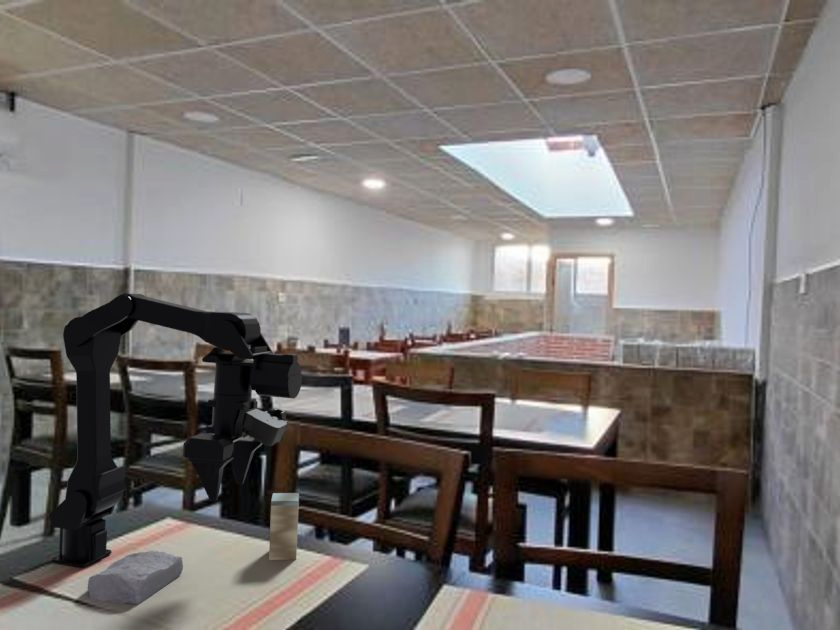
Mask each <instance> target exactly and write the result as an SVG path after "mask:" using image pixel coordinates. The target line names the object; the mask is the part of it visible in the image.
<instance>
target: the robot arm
mask: <svg viewBox="0 0 840 630" xmlns="http://www.w3.org/2000/svg"><path fill="white" fill-rule="evenodd" d="M139 321H140V322H144V323H148V324H152V325H155V326H156V325H157V326H158V327H159V326H160V327H164V328H167V329H168V328H169V329H172V330H176V331H179V332H184V333H188V334H191V335H194V336H195V337H198V338H199V339H201V340H202V341H203V342H205V343H208V344H210V345H211V346H214V347H213V348H212V349H211V350H210V352H209V353H207V354H206V355H204V356H203V357H202V358H201V361H202V362H203V363H209V364H211V363H212V364H215V367H214V369H215V370H214V383H213V384H214V386H213V398H210V399H208V400H207V407H209V408H210V407H212V415H211V416H212V417H211V424H210V425H207V426H206V431H205V433H203V432H201V433H198V434H196V435H194V436H191V437H189V438H188V439H187V440H186V441H184V442H183V444H182V445H183V446H182V457H183V458H187V461H188V462H191V464H192V466H193V468H194V470H195V472H196V474H197V476H198V478H199V480H200V482H201V485H202V486H203V489H204V491H205V493H206V495H207V498H208V499H209V500H210V501H211V502H212V501H213V502H216V501H218V499H219V496H220V495H219V494H220V490H221V484H222V479H223V474H224V469H225V467H226V466H227V465H228V464H229V463H230V462H231V468H232V473H233V476H234V480H235V483H236V484H237V485H243V484H244V482H245V480H246V478H247V473H248V471H249V468H250V465H251V462H252V459H253V457H254V454H255V452H256V450H258V448H260V447H261V446H262V445H264V446H268V447H272V446H274V445H275V444H276V443H280V442H281V439H282V437H283V435H284V432H285V431H287V430H288V429H289V428H288V427H289V426H288V422H289V421H288V420H287V414H286V413H287V412H286V410H283V409H282V408H279V407H278V408H275V409H273V410H272V411H271V412H269V411H268V410H266V411H262V410H261V409H258V403H259V402H258V401H257V399H256V398H253V397H252V396H253V395H252V394H253V391H255V393H256V395H258V396H264V397H271V398H272V397H274V398H282V399H283V398H284V399H296V398H297V397H298V395H299V393H300V390H301V388H302V383H303V374H302V368H301V365H300V363H299V361H298V359H299V358H298V353H274V351H273V350H272V348H271V347H270V346H269V344H268V342H267V341H266V339H265V337H264V335H263V334H262V333H261V330H262V329H261V326H260V323H259V321H258V319H257V317H256V316H255V315H253V314H251V313H248V312H234V311H211V310H209V311H208V310H203V309H198V308H195V307H190V306H186V305H181V304H178V303H175V302H170V301H165V300H161V299H157V298H152V297H149V296H146V295H144V294H142V293H125V292H124V293H121V294H119V295H117V296H116V297H115V298H113V299H111V300H110V301H108V302H107V303H104V304H102V305H100V306H99V307H96V308H94V309H92V310H90V311H88V312H86V313H85V314H83V315H82V316H76V317H74V318H72V319H71V320H69V322H68V323H67V324H66V325H64V328H63V332H62V336H63V337H62V338H63V343H64V349H65V356H66V357H67V359H68V360H69V362H70V364H71V365H72V367H73V369H74V371H75V374H76V375H75V376H76V377H75V378H76V380H75V381H76V384H75V385H76V448H77V449H76V450H77V452H76V453H77V456H76V457H77V458H76V459H77V460H76V463H75V464H74V467H73V468H72V471H71V473H70V475H69V477H68V479H67V484H66V490H65V496H64V497H65V499H64V500H63V501H62V502H60V503H59V504H58V505H57V506H56V507H55V508H53V509H54V510H52V511H51V512H50V513H49V515H48V516H49V521H50V524H51V527H52V528H56V529H59V543H58V544H59V546H58V547H59V548H58V555H55V556H53V557H51V559H50V561H51V563H58V564H62V565H67V566H74V567H77V568H78V567H80V568H84V567H87V566H89V565H91V564H93V563H95V562H97V561H99V560H101V559H103V558H106V556H109V555H111V554H112V550H111V549H108V548H107V546H108V545H107V544H108V543H107V541H108V540H107V539H108V531H107V529H106V522H107V519H104V518H105V517H107V516H110V515H112V514H113V512H114V511H115V507H116V505H117V504H118V503H119V502H120V501H121V500H122V498H123V494H124V491H126V490H127V486H126V482H125V478H126V466H125V465H119V466H118V465H117V464H116V462H115V460H114V459H113V458H112V440H111V436H112V435H111V433H112V431H111V429H112V428H111V422H112V421H111V369H112V367H113V365H114V363H115V361H116V359H117V356H118V355H119V353H120V346H121V340H122V339H121V338H123V337H124V336H125V335H126V334H128V333H129V332H130V331H132V330H133V328H135V326H136V324H137V323H138V322H139ZM226 351H229V352H226Z"/></svg>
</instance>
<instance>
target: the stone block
mask: <svg viewBox="0 0 840 630" xmlns="http://www.w3.org/2000/svg"><path fill="white" fill-rule="evenodd" d="M183 569H184V563H183V557H182V556H181V555H178V556H177V555H174V554H171V553H167V552H165V551H158V550H148V551H140V552H134V553H131V554H127V555H125V556H124V557H122V558H121V559H118V560H116V561H114V562H113V563H112V564H110V565H109V566H108V567H107V568H106V569H105V570H102V571H99V573H95V574H94V575H91V576H90V577H89V578H88V582H87V590H88V591H87V592H88V594H89V597H90V598H91V599H95V600H98V601H100V602H111V603H113V602H115V603H116V602H117V603H121V604H131V605H139V604H142V603H143V602H145V601H146V600H148V599H149V598H150V597H152V596H153V595H155V594H156V593H158V592H159V591H160V590H162V589H164V588H165V587H166V586H167V585H168V584H169V585H170V583H173V581H175V580H177V578H178V577H180V575H181V574H182V571H183Z"/></svg>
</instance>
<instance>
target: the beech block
mask: <svg viewBox="0 0 840 630" xmlns="http://www.w3.org/2000/svg"><path fill="white" fill-rule="evenodd" d="M270 502H271V503H270V521H269V522H270V526H269V527H270V528H269V551H268V552H269V553H268V561H290V560H297V551H298V530H299V529H298V528H299V526H298V525H299V506H300V505H299V504H300V493H299V492H276V493H275V492H273V493H272V496H271V501H270Z"/></svg>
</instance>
